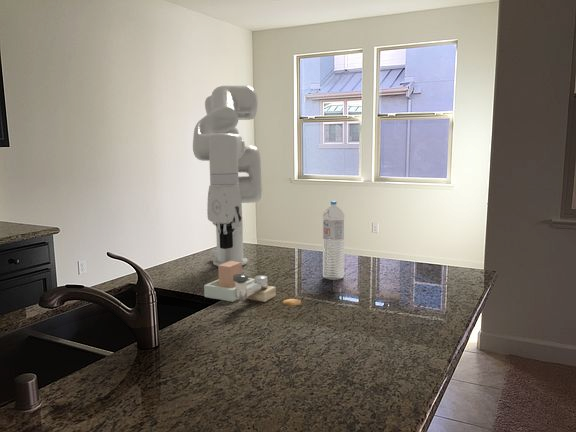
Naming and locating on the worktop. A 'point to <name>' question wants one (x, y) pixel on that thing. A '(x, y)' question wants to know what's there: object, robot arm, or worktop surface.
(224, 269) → the block
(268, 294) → the crank base
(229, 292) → the tray
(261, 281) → the crank
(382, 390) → the worktop surface
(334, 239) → the water bottle
